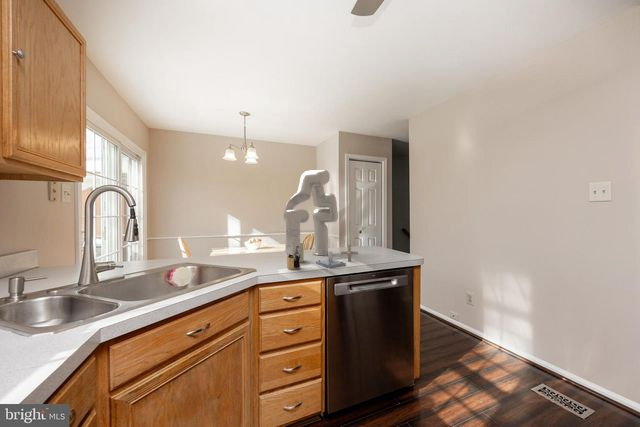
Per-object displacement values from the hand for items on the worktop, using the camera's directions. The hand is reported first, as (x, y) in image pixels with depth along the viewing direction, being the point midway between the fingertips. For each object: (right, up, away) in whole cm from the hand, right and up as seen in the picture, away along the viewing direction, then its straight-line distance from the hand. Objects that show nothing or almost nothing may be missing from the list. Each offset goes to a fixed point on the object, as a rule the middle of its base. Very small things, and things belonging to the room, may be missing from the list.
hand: (293, 266), depth 146 cm
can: (0, -1, +20) cm, 20 cm away
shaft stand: (+20, -1, +8) cm, 21 cm away
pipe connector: (+32, -1, +17) cm, 36 cm away
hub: (0, -1, 0) cm, 1 cm away
